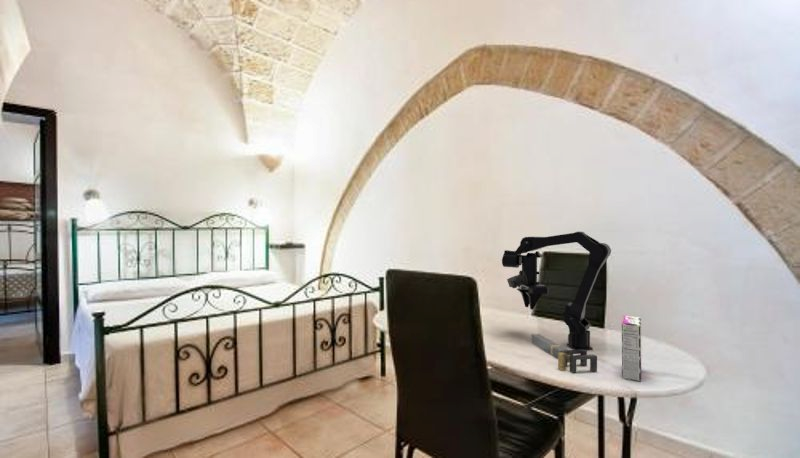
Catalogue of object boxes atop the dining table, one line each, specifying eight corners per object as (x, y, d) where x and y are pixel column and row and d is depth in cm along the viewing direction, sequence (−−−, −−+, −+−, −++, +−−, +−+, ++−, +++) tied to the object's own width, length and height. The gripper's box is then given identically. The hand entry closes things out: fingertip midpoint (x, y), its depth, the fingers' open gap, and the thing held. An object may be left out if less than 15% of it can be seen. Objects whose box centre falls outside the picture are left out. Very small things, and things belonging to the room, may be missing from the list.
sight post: (568, 368, 122) (568, 352, 122) (571, 369, 121) (571, 353, 121) (558, 368, 122) (558, 352, 122) (560, 370, 120) (561, 354, 120)
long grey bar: (531, 342, 149) (531, 334, 149) (539, 342, 149) (539, 334, 149) (563, 362, 127) (563, 353, 127) (572, 362, 127) (572, 352, 127)
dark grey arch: (593, 369, 121) (593, 354, 121) (597, 371, 119) (597, 356, 119) (569, 371, 120) (569, 355, 119) (572, 373, 118) (572, 357, 118)
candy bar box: (622, 366, 123) (622, 314, 123) (641, 370, 121) (641, 316, 120) (620, 378, 114) (621, 322, 114) (641, 382, 111) (641, 324, 111)
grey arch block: (583, 364, 126) (583, 349, 126) (586, 365, 124) (586, 350, 124) (560, 365, 124) (560, 350, 124) (563, 367, 123) (563, 352, 123)
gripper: (500, 266, 162) (500, 304, 162) (520, 271, 143) (520, 314, 143) (525, 266, 163) (525, 303, 163) (549, 271, 145) (548, 313, 145)
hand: (529, 308), depth 154 cm, fingers open, 4 cm apart
